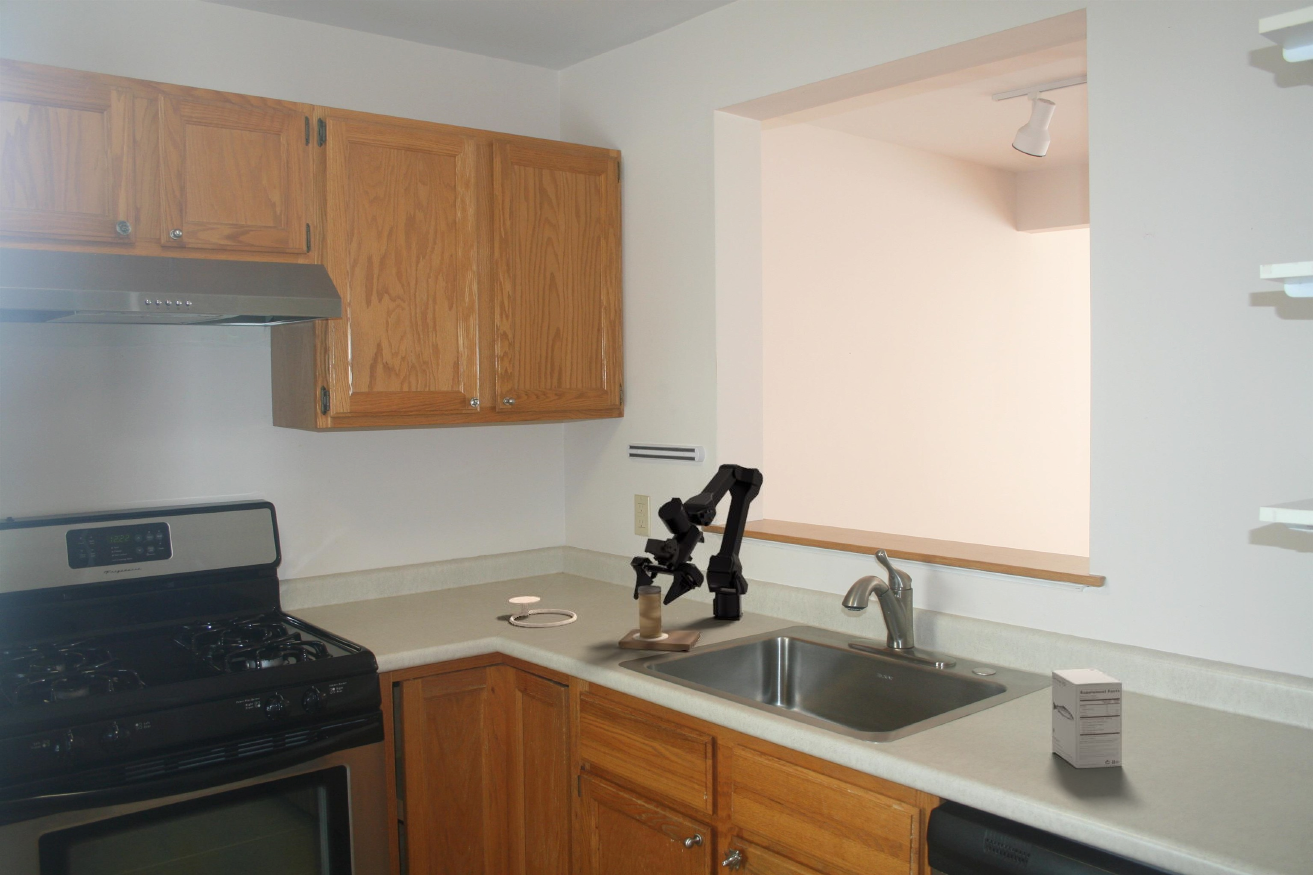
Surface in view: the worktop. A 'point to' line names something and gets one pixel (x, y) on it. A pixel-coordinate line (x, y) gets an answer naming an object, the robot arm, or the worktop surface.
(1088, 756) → the supplement box
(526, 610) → the hand towel holder
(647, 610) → the tan jar with lid
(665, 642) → the walnut board
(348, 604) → the worktop surface
